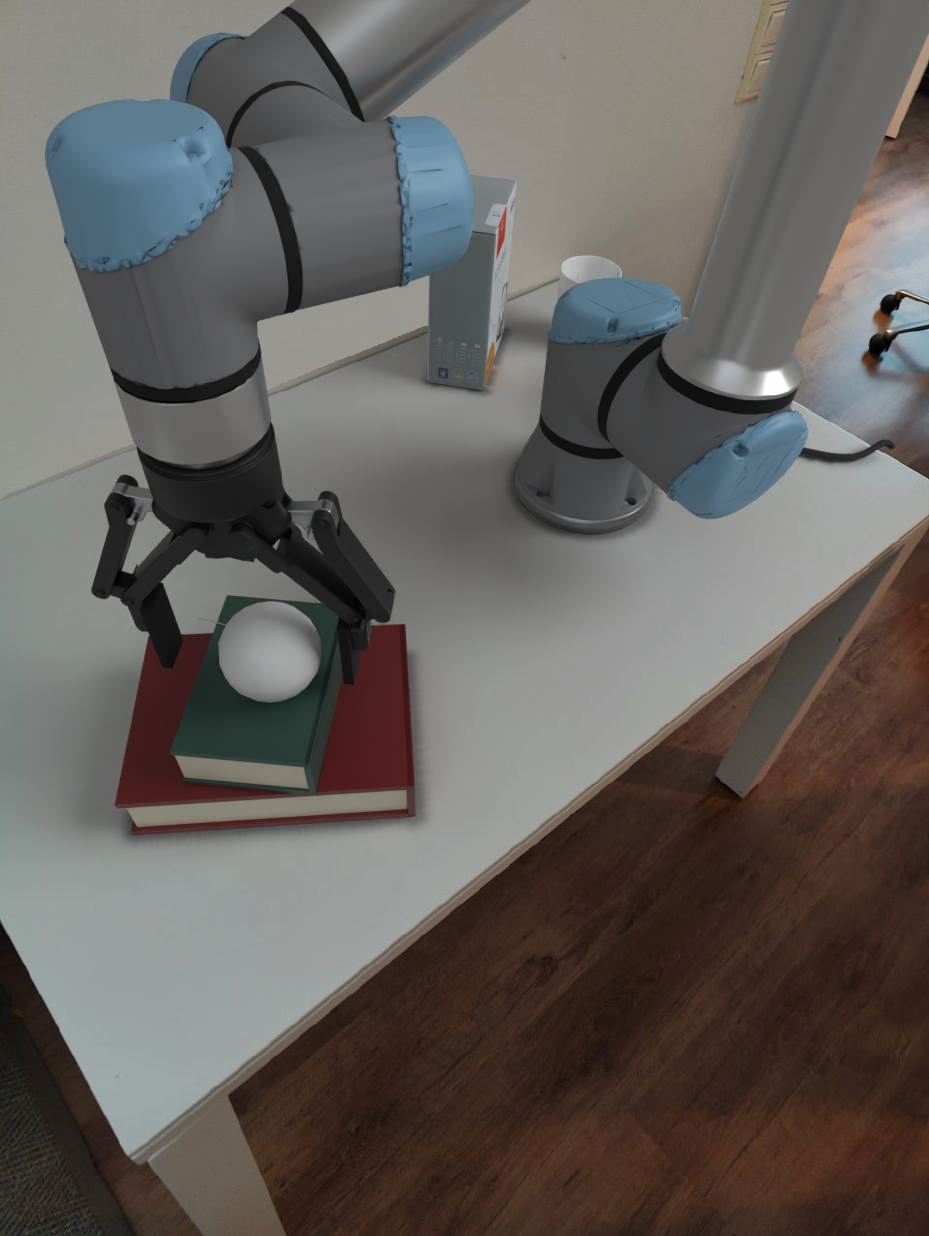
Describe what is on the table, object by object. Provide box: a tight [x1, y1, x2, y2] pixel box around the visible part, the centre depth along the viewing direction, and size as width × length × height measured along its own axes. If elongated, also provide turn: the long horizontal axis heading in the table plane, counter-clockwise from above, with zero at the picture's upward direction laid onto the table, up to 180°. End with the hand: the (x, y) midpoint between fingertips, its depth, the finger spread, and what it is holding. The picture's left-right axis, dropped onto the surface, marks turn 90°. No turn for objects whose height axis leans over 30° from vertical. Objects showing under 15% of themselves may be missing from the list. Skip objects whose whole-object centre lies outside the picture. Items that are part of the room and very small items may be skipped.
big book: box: [114, 623, 417, 836], centre depth 68 cm, size 22×16×5 cm
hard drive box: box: [426, 174, 518, 391], centre depth 102 cm, size 16×8×20 cm, turn 168°
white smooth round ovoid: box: [197, 601, 322, 703], centre depth 60 cm, size 10×7×7 cm
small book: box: [170, 594, 343, 795], centre depth 64 cm, size 10×15×4 cm, turn 175°
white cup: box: [557, 254, 623, 300], centre depth 109 cm, size 8×8×10 cm
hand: (262, 662), depth 62 cm, fingers open, 13 cm apart
